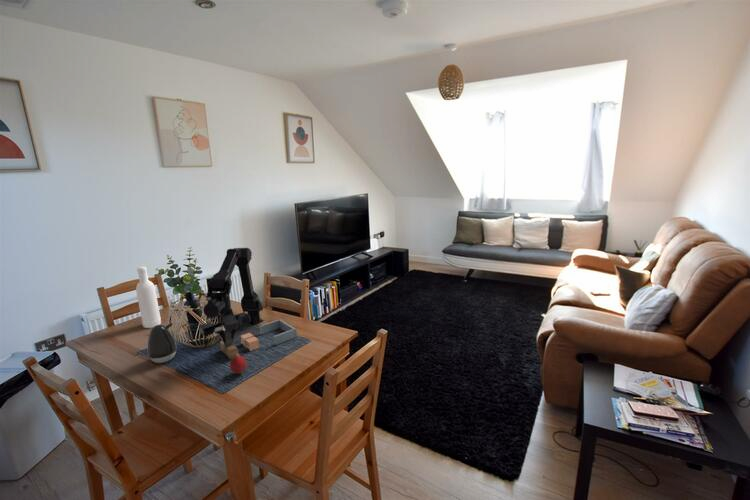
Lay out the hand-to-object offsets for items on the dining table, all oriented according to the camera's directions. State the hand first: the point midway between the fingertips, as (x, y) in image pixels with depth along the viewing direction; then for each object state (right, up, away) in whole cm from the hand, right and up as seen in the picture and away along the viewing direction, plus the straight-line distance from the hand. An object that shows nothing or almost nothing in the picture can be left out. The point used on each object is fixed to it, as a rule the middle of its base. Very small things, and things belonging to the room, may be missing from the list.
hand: (228, 342), depth 147 cm
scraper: (0, -5, +1) cm, 5 cm away
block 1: (+5, -3, +9) cm, 11 cm away
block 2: (+8, -4, +5) cm, 11 cm away
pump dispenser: (-25, -7, -2) cm, 26 cm away
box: (+16, -1, +16) cm, 23 cm away
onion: (+10, -8, -13) cm, 19 cm away
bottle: (-51, +1, +31) cm, 59 cm away
